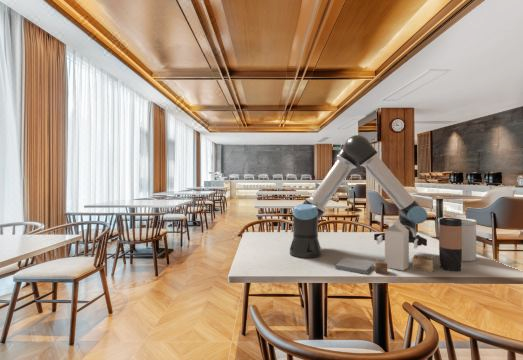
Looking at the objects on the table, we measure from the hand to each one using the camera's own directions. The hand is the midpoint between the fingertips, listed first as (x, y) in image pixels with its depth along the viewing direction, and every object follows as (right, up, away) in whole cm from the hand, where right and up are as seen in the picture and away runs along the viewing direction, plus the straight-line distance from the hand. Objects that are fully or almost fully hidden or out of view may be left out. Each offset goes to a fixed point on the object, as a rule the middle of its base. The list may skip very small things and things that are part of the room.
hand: (395, 242), depth 115 cm
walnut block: (-8, -11, -4) cm, 14 cm away
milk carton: (+1, -11, +2) cm, 11 cm away
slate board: (-16, -10, +2) cm, 19 cm away
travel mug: (+22, -11, 0) cm, 24 cm away
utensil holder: (+36, -11, +17) cm, 41 cm away
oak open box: (+12, -11, +1) cm, 16 cm away
